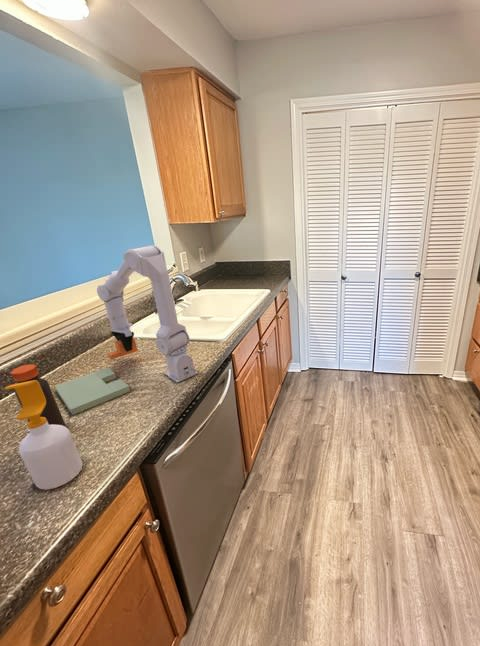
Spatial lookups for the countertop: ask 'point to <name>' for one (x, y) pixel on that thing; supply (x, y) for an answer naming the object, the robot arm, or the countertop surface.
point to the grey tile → (91, 390)
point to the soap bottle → (45, 441)
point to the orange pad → (122, 350)
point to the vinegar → (51, 408)
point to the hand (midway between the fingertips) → (127, 349)
